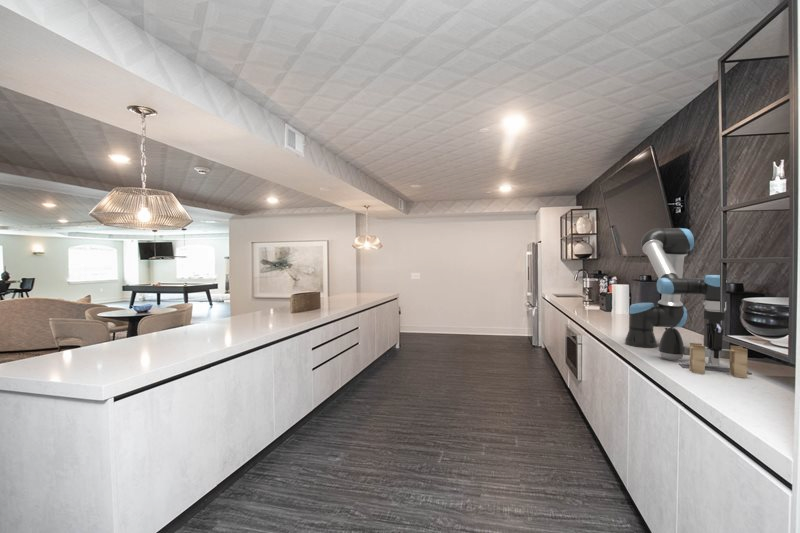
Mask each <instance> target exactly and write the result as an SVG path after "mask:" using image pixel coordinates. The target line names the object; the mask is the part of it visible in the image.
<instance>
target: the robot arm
mask: <svg viewBox="0 0 800 533" xmlns="http://www.w3.org/2000/svg"><path fill="white" fill-rule="evenodd" d="M641 238H642V239H641V241H640V247H641V251H642V253H643V254H644V255H646V256H647V258H648V260H649V262H650V263H651V266H652V268H653V270H654V272H655V273H656V276H657V278H658V279H657V281H656V290H657V292H658V293H659V294H661V297H660V298H661V299H660V300H658V301H657V305H655V303H654V302H638V303H637V302H636V303H632V304H630V306H629V311H628V314H629V315H628V316H629V318H628V319H629V321H628V322H629V323H628V332H627V334H626V336H625V340H624V342H625V343H626V344H625V343H624V344H625V345H627V344H628V346H631V345H632V346H633V347H638V348H657V346H658V343H657V339H656V336H655V332H654V327H656V328H657V327H658V328H659V327H660V328H682V327H683V326H685V324H686V322H687V319H688V310H687V307H685V306H684V303H683V302H682V301H681V295H686V296H687V295H689V296H691V295H692V296H704V299H703V300H704V302H702V304H703V305H704V311H703V318H704V320H708V323H706V325H705V326H706V346H707V348H712V349H710V350H711V357H707V358H708V362H707V363H708V364H710V366H714V367H720V361H721V360H720V359H721V358H720V350H722V349H723V338H724V337H723V335H724V334H723V333H724V330H725V329H724V327H723V326H722V324H721V321H726V319H727V312H726V311H727V301H726V302H725V308H724V312H723V313H722V312H720V274H706V275H705V277H704V278H703V277H699V278H698V277H697V278H691V277H690V278H689V277H688V278H686V277H684V278H683V275H684V274H683V272H684V262H685V261H684V260H685V258H686V256H688V255H689V251H692V250H693V248H694V246H695V238H694V235H693V233H692V231H691V230H690V229H688V228H683V227H682V228H681V227H674V228H672V227H671V228H652V229H651V230H649V231H647V232H646V233H645V234H644V235H643V236H642V237H641ZM727 282H728V281H727V280H726V283H727ZM727 284H728V283H727ZM726 295H727V293H726ZM632 346H631V347H632Z"/></svg>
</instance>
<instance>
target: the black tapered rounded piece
mask: <svg viewBox="0 0 800 533" xmlns="http://www.w3.org/2000/svg"><path fill="white" fill-rule="evenodd" d="M664 329H665V330H664V332H663V333H662V336H661V338H660V341H659V346H658V352H659V355H660V356H661V357H662V358H663V359H665V360H666V361H671V362H673V361H674V362H676V361H677V362H678V361H680V360H682V358H684V356H685V355H684V354H683V346H685V344H684V339H683V338H682V335H681V332H680V331H679V330H678V329H677V328H676V327H674V328H671V327H664Z"/></svg>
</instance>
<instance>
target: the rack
mask: <svg viewBox="0 0 800 533" xmlns="http://www.w3.org/2000/svg"><path fill="white" fill-rule="evenodd" d="M689 346H690V356H689V364H690V365H689V371H691V373H693V374H701V375H702V374H703V375H705V374H706V373H705V372H706V370H705V366H706V357H705V348H706V345H703V344H702V343H700V342H698V343H697V342H690V343H689ZM729 350H730V359H729V368H730V371H729V372H728V373H729V374H730V375H732V376H733V377H734V378H744V379H747V378H748V374H747V371H748V352H749V351H748V348H744V347H743V346H740V345H739V346H738V345H729Z"/></svg>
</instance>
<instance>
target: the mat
mask: <svg viewBox="0 0 800 533" xmlns="http://www.w3.org/2000/svg"><path fill="white" fill-rule="evenodd" d="M678 365H679V366H680V367H681V368H682V369H687V370H688V369H689V365H690V363H680V362H679V363H678ZM705 371H711V372H720V373H721V372H723V373H729V371H730V367H724V366H723V367H722V366H721V367H720V366H712V365H705ZM747 375H753V373H752V372H750V371H749V370H747Z"/></svg>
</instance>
